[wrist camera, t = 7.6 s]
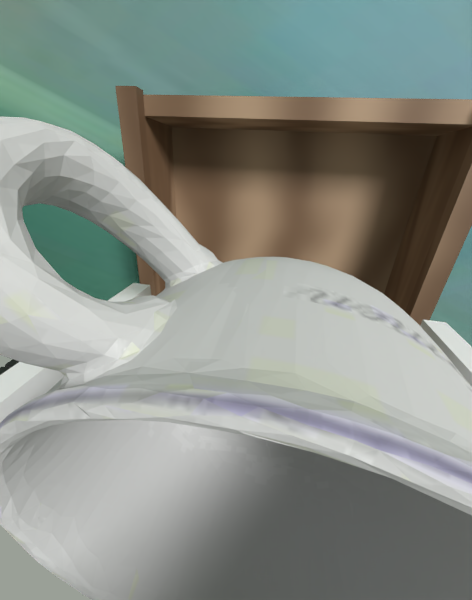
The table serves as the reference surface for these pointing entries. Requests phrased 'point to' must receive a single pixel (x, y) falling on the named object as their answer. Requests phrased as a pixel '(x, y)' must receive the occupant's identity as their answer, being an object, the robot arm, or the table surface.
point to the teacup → (220, 413)
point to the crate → (312, 182)
